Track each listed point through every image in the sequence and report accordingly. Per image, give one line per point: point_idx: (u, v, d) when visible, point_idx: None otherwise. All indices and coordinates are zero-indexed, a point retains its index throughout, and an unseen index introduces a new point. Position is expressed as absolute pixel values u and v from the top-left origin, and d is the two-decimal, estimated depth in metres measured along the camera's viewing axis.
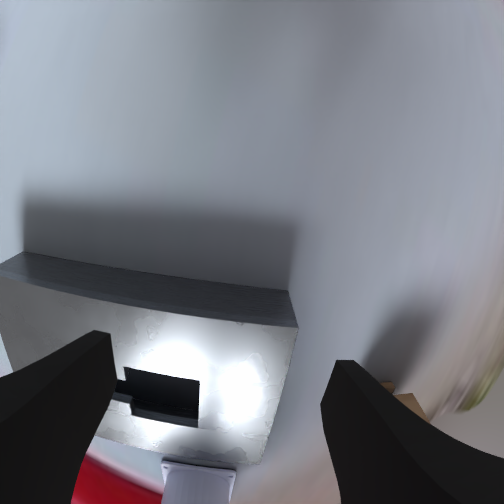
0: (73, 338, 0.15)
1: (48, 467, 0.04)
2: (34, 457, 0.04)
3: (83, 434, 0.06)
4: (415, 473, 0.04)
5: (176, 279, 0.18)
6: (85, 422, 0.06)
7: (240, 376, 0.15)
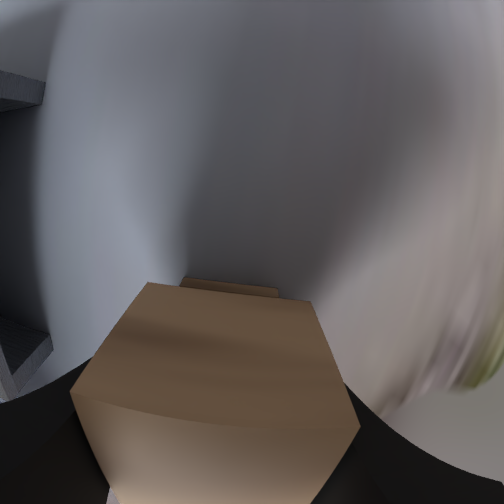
0: None
1: (86, 483, 0.04)
2: (71, 473, 0.04)
3: None
4: (368, 483, 0.04)
5: None
6: None
7: None
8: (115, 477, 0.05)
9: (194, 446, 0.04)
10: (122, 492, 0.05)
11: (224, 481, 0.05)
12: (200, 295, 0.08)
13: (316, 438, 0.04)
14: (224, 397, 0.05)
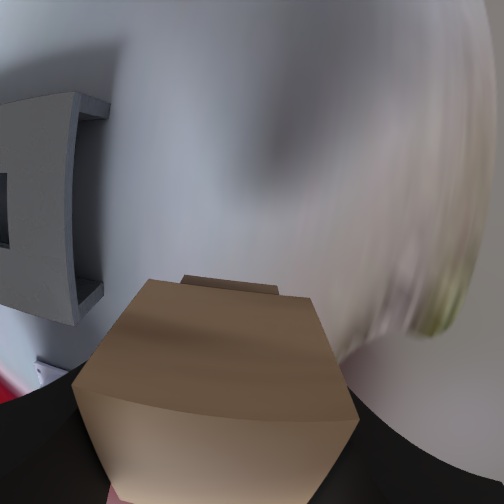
0: None
1: (85, 483, 0.04)
2: (71, 474, 0.04)
3: None
4: (368, 483, 0.04)
5: None
6: None
7: (32, 159, 0.12)
8: (115, 472, 0.05)
9: (193, 439, 0.04)
10: (122, 488, 0.05)
11: (224, 476, 0.05)
12: (201, 292, 0.09)
13: (317, 431, 0.04)
14: (223, 390, 0.05)
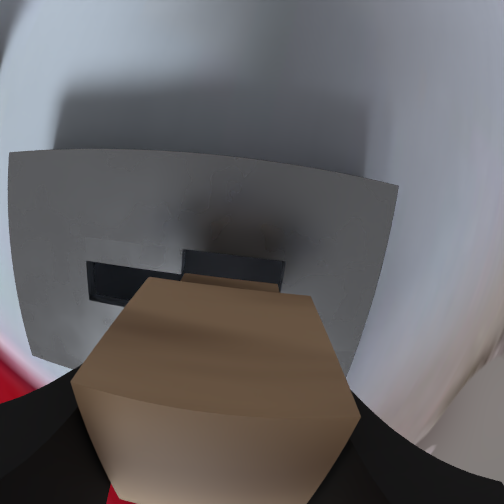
0: (117, 215, 0.12)
1: (85, 483, 0.04)
2: (71, 474, 0.04)
3: None
4: (368, 483, 0.04)
5: None
6: None
7: (335, 252, 0.13)
8: (115, 471, 0.05)
9: (193, 437, 0.04)
10: (122, 487, 0.05)
11: (225, 474, 0.05)
12: (201, 289, 0.09)
13: (317, 428, 0.04)
14: (224, 387, 0.05)
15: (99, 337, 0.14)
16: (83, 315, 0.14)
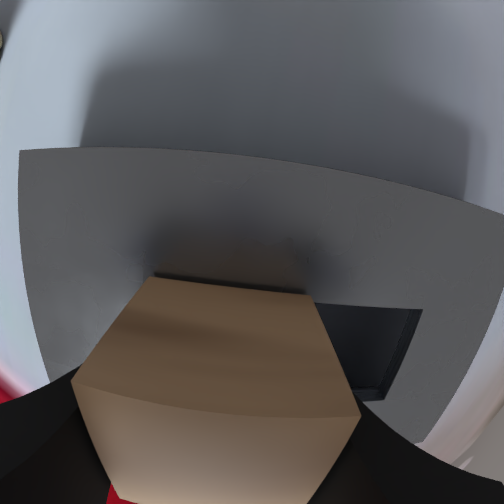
0: (210, 255, 0.09)
1: (85, 483, 0.04)
2: (71, 474, 0.04)
3: None
4: (368, 483, 0.04)
5: None
6: None
7: (467, 295, 0.10)
8: (115, 470, 0.05)
9: (194, 436, 0.04)
10: (122, 486, 0.05)
11: (225, 474, 0.05)
12: (201, 289, 0.09)
13: (318, 428, 0.04)
14: (224, 387, 0.05)
15: None
16: None
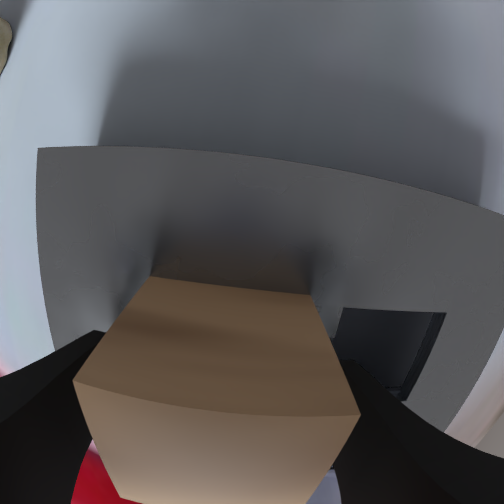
0: (248, 261, 0.09)
1: (48, 467, 0.04)
2: (34, 457, 0.04)
3: (83, 434, 0.06)
4: (415, 472, 0.04)
5: None
6: (85, 422, 0.06)
7: (485, 298, 0.09)
8: (116, 469, 0.05)
9: (195, 435, 0.04)
10: (123, 485, 0.05)
11: (225, 472, 0.05)
12: (201, 289, 0.09)
13: (317, 427, 0.04)
14: (225, 386, 0.05)
15: None
16: None
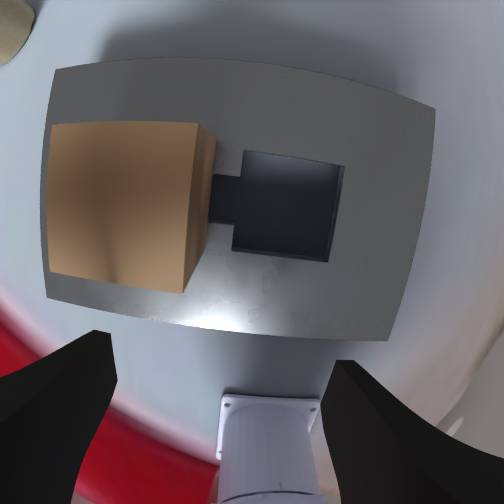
0: (174, 117, 0.12)
1: (48, 467, 0.04)
2: (34, 457, 0.04)
3: (83, 434, 0.06)
4: (415, 473, 0.04)
5: None
6: (85, 422, 0.06)
7: (388, 161, 0.13)
8: (53, 214, 0.08)
9: (104, 146, 0.08)
10: (53, 243, 0.08)
11: (118, 191, 0.08)
12: None
13: (171, 132, 0.08)
14: None
15: None
16: None
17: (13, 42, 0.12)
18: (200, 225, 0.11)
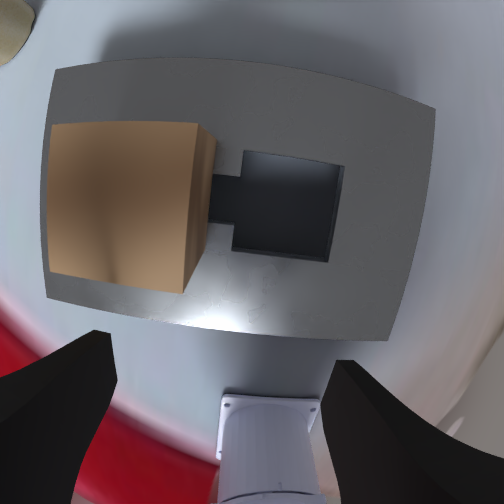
0: (174, 117, 0.12)
1: (48, 467, 0.04)
2: (34, 457, 0.04)
3: (83, 434, 0.06)
4: (415, 473, 0.04)
5: None
6: (85, 422, 0.06)
7: (388, 161, 0.13)
8: (53, 214, 0.08)
9: (104, 146, 0.08)
10: (53, 243, 0.08)
11: (118, 191, 0.08)
12: None
13: (171, 132, 0.08)
14: None
15: None
16: None
17: (13, 42, 0.12)
18: (200, 225, 0.11)
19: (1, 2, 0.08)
